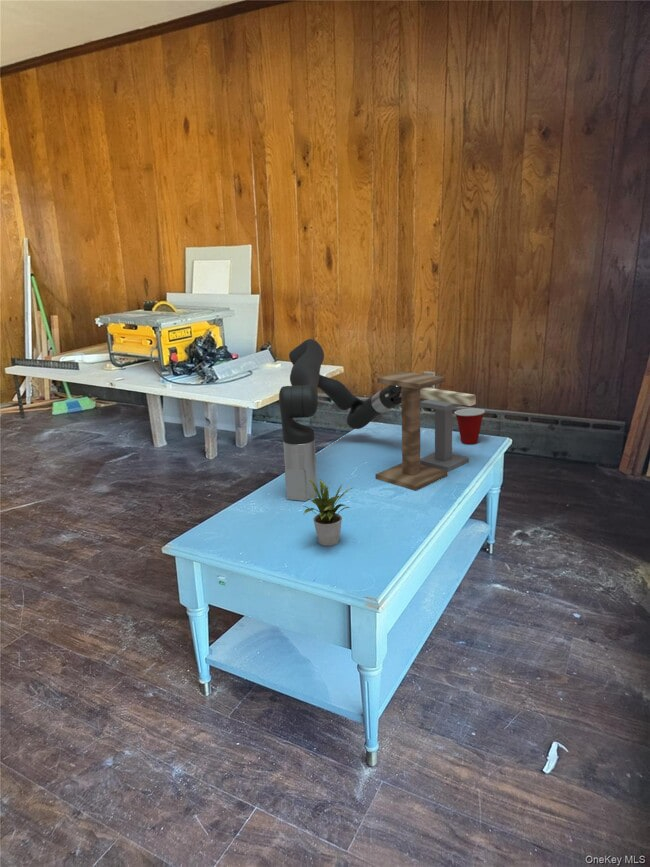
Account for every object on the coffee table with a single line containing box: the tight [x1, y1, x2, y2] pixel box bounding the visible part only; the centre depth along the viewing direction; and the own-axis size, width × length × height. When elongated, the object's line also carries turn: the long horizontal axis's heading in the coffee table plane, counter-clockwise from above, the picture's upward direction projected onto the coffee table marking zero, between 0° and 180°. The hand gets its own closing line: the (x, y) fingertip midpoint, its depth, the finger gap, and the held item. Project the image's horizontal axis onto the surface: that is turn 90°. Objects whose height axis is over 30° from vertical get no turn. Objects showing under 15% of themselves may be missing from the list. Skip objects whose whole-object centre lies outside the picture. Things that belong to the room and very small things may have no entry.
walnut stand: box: [375, 370, 449, 492], centre depth 184 cm, size 16×16×32 cm
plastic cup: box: [454, 408, 486, 445], centre depth 218 cm, size 11×11×12 cm
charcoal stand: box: [420, 399, 470, 472], centre depth 196 cm, size 12×12×22 cm
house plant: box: [303, 478, 354, 547], centre depth 147 cm, size 14×14×16 cm
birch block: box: [420, 387, 477, 407], centre depth 194 cm, size 24×3×3 cm, turn 44°
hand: (418, 381), depth 199 cm, fingers open, 8 cm apart
